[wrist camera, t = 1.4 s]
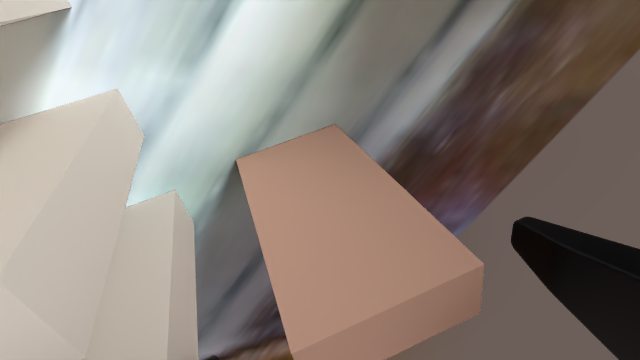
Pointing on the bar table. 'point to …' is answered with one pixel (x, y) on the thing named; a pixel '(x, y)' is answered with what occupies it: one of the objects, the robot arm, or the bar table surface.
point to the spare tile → (353, 252)
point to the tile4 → (61, 221)
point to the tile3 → (28, 9)
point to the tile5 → (149, 287)
